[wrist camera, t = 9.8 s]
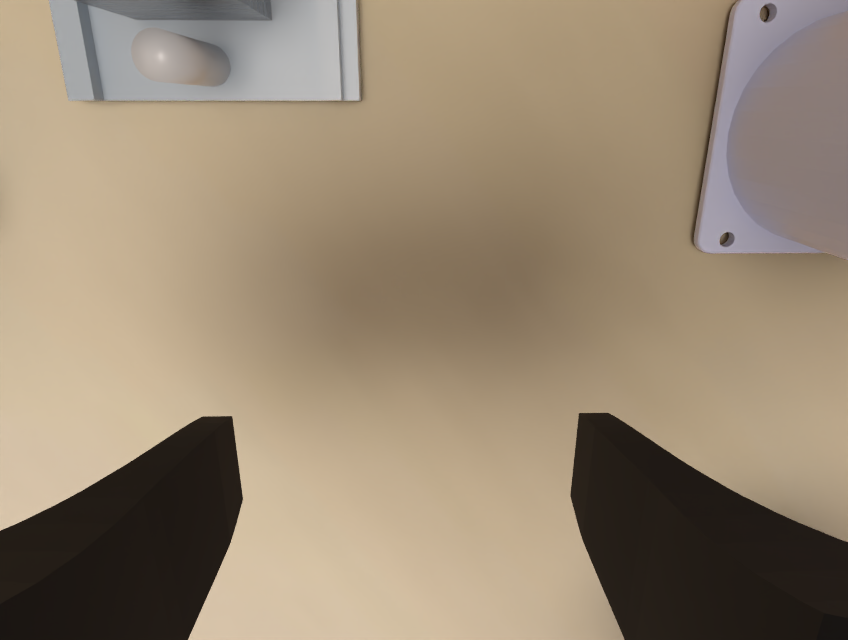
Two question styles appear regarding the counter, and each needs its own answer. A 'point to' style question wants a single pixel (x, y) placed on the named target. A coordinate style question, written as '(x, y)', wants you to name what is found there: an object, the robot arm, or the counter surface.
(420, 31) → the counter surface
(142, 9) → the block
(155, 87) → the tray
